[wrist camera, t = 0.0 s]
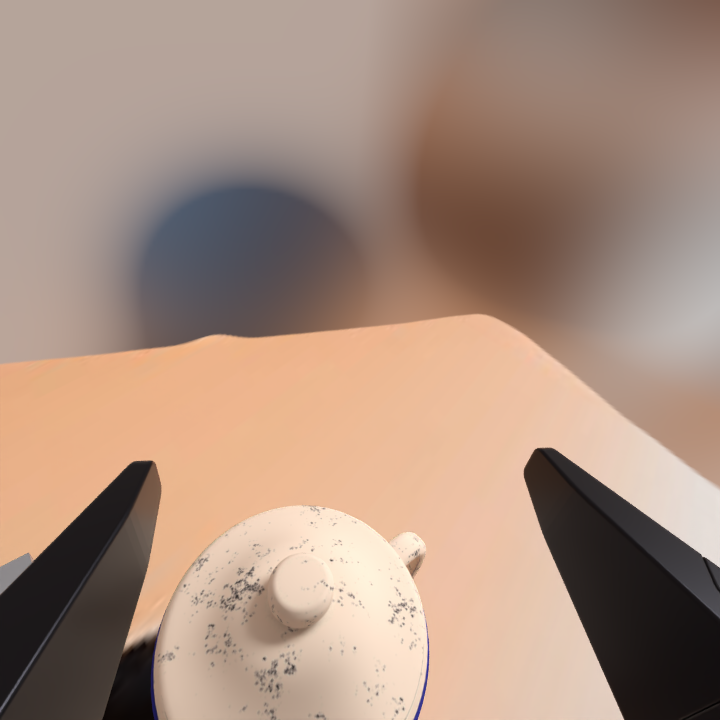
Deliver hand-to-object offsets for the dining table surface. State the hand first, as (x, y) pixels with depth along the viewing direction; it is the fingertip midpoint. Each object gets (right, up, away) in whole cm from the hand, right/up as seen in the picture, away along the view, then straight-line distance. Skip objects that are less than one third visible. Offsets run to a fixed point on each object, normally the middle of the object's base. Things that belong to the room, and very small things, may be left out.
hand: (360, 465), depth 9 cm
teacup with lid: (-2, -13, +10) cm, 17 cm away
